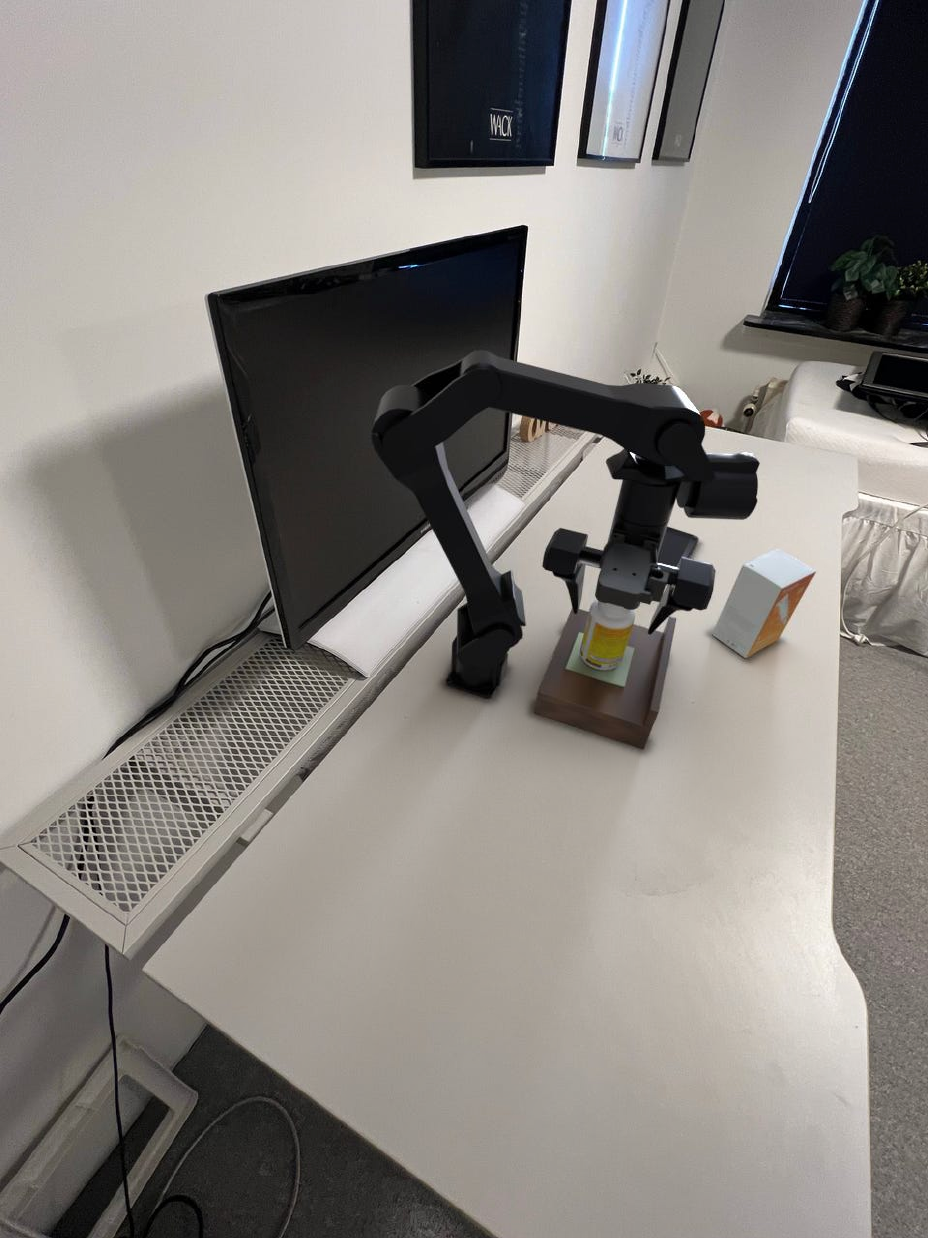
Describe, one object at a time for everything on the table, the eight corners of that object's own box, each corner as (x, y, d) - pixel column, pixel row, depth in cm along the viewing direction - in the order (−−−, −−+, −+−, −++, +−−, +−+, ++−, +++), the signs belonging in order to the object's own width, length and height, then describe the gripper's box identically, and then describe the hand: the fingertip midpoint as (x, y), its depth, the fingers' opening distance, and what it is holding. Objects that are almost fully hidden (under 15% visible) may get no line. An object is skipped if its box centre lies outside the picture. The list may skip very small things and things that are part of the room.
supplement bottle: (629, 667, 77) (649, 606, 70) (591, 676, 75) (608, 615, 68) (607, 639, 81) (624, 579, 74) (571, 647, 79) (585, 586, 72)
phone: (700, 536, 107) (677, 578, 97) (698, 542, 108) (675, 583, 98) (657, 523, 110) (630, 562, 100) (655, 528, 111) (629, 567, 101)
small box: (746, 660, 85) (782, 588, 76) (710, 634, 89) (741, 563, 80) (779, 640, 89) (818, 570, 80) (744, 616, 92) (777, 547, 84)
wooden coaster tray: (533, 713, 76) (540, 675, 71) (567, 627, 88) (576, 590, 84) (643, 749, 72) (658, 712, 68) (662, 654, 85) (676, 617, 80)
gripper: (537, 529, 60) (521, 641, 70) (729, 576, 55) (681, 689, 66) (564, 481, 68) (546, 588, 78) (734, 519, 63) (691, 627, 74)
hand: (612, 622), depth 74 cm, fingers open, 9 cm apart
